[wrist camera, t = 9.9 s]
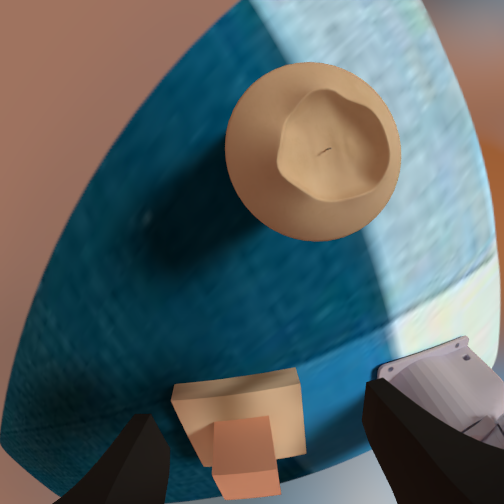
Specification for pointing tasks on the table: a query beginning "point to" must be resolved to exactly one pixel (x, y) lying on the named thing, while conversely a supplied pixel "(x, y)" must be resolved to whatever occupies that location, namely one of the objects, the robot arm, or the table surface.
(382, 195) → the candle
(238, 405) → the birch block
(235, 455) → the terracotta block
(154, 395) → the table surface
